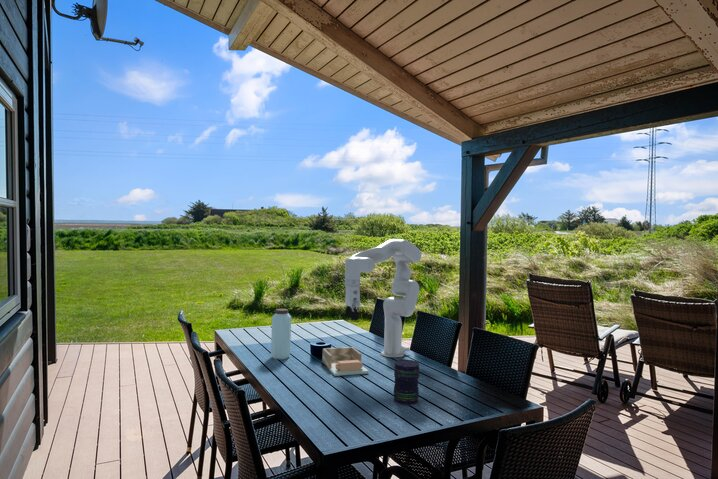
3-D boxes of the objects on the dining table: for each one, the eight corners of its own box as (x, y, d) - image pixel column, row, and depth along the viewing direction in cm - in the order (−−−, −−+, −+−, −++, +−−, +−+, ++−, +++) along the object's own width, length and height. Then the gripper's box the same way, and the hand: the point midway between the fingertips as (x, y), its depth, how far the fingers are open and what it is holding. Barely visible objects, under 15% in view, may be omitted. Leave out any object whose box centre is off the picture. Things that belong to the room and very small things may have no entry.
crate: (352, 360, 232) (352, 346, 232) (361, 368, 219) (361, 353, 219) (322, 362, 227) (322, 348, 227) (329, 370, 214) (329, 355, 214)
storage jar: (402, 394, 183) (403, 350, 183) (423, 400, 177) (424, 355, 177) (388, 400, 176) (389, 355, 176) (409, 407, 169) (410, 359, 169)
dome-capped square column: (361, 367, 215) (361, 359, 215) (364, 369, 211) (364, 361, 211) (334, 369, 211) (334, 361, 211) (336, 371, 207) (336, 363, 207)
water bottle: (266, 358, 232) (268, 309, 232) (278, 353, 241) (280, 307, 241) (282, 360, 228) (283, 311, 228) (294, 356, 237) (295, 309, 236)
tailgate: (362, 365, 218) (368, 370, 210) (362, 368, 218) (368, 373, 210) (329, 367, 213) (334, 373, 204) (329, 370, 213) (334, 375, 204)
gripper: (365, 284, 212) (364, 321, 212) (354, 281, 229) (353, 314, 229) (350, 285, 210) (349, 321, 210) (340, 281, 226) (339, 315, 226)
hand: (351, 318), depth 219 cm, fingers open, 9 cm apart
